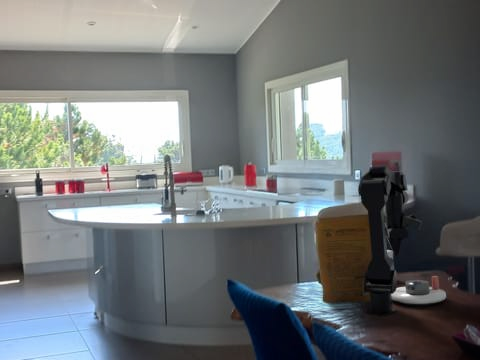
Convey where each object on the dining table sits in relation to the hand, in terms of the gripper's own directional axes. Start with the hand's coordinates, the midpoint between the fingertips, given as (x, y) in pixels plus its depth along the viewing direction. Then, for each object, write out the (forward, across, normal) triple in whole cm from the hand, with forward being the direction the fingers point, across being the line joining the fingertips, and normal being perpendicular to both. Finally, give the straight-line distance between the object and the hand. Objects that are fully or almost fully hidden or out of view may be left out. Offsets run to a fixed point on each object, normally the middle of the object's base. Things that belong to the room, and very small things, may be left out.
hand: (396, 255), depth 187 cm
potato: (+13, +7, +20) cm, 25 cm away
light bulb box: (+13, +20, +5) cm, 24 cm away
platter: (+11, -10, -4) cm, 16 cm away
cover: (+10, -10, -5) cm, 15 cm away
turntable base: (+12, -10, -4) cm, 17 cm away
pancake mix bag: (+13, -9, +17) cm, 23 cm away
